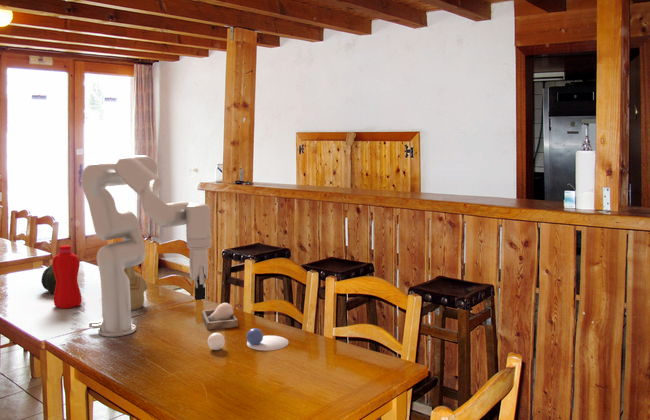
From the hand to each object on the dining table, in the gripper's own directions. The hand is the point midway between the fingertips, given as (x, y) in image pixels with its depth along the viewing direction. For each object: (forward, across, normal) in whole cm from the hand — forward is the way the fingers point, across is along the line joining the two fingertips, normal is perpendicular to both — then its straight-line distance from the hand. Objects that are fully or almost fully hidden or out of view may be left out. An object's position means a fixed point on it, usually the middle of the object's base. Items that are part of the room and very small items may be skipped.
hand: (200, 299), depth 189 cm
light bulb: (+17, -28, +10) cm, 34 cm away
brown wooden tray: (+17, -28, +10) cm, 34 cm away
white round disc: (+17, 0, +22) cm, 28 cm away
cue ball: (+14, +1, +5) cm, 15 cm away
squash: (+17, -93, -51) cm, 107 cm away
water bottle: (+17, -68, -46) cm, 84 cm away
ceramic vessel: (+17, -58, -23) cm, 65 cm away
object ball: (+14, 0, +18) cm, 23 cm away
